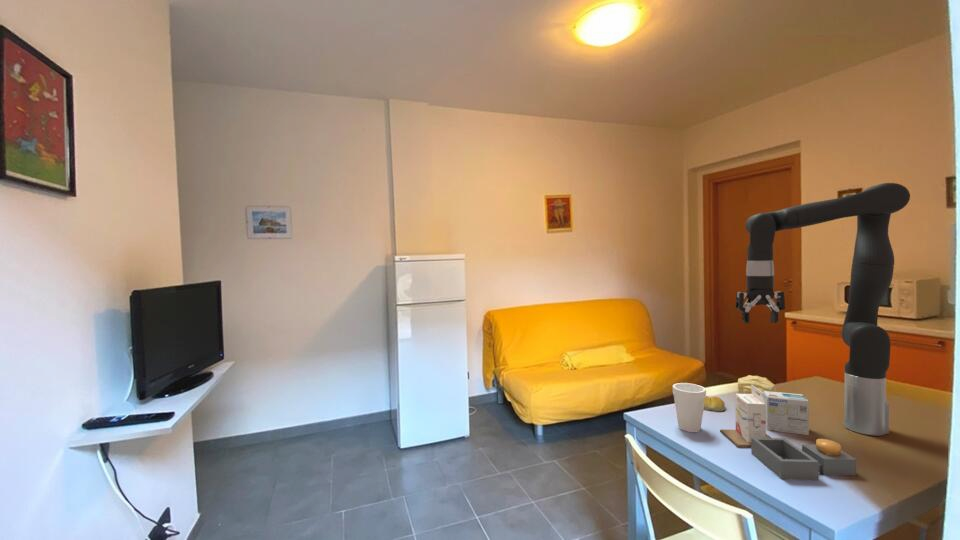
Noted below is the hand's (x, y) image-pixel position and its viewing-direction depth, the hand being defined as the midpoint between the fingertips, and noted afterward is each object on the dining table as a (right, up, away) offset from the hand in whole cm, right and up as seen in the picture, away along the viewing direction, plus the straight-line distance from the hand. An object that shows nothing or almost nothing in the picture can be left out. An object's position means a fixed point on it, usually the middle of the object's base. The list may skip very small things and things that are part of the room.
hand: (759, 323), depth 134 cm
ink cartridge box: (-12, -32, -14) cm, 37 cm away
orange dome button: (-3, -33, -30) cm, 44 cm away
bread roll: (-9, -32, +12) cm, 36 cm away
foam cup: (-26, -33, -4) cm, 42 cm away
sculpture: (+8, -32, +13) cm, 35 cm away
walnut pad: (-13, -33, -14) cm, 38 cm away
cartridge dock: (-9, -33, -29) cm, 45 cm away
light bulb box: (+3, -33, -7) cm, 34 cm away
